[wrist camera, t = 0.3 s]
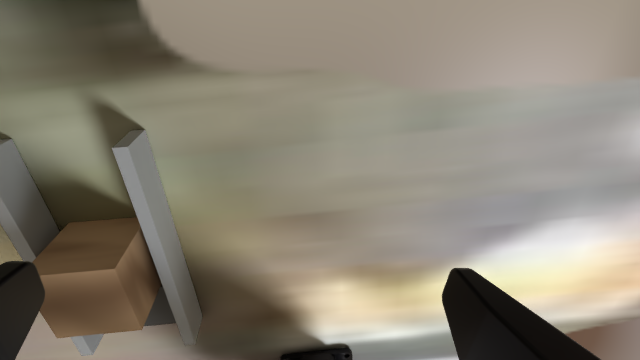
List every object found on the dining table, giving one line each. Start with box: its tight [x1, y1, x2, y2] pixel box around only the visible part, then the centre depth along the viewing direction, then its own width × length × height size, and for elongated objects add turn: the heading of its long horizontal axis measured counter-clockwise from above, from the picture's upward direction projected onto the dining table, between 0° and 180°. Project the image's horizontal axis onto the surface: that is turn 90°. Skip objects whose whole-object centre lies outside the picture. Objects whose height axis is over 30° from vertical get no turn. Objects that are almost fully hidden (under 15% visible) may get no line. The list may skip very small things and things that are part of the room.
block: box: [32, 217, 162, 338], centre depth 22 cm, size 5×5×5 cm
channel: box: [0, 130, 203, 356], centre depth 22 cm, size 16×8×2 cm, turn 2°
